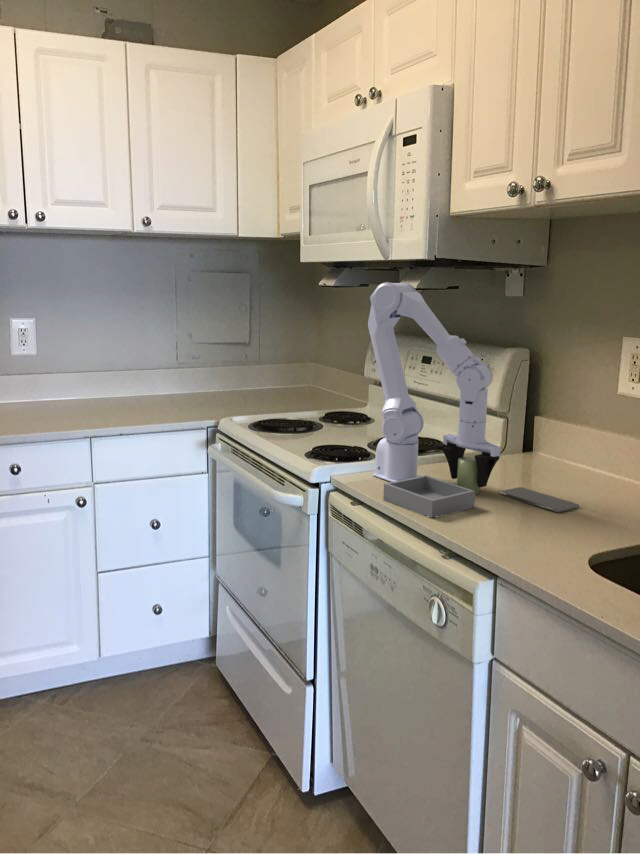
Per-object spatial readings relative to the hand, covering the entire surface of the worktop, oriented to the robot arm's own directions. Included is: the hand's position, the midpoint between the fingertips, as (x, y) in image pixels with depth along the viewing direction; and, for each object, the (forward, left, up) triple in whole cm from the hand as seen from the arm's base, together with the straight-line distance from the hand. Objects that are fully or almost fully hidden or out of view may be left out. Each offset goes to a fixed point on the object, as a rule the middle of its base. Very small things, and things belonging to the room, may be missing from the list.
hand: (468, 482), depth 159 cm
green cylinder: (0, 0, -2) cm, 2 cm away
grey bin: (+2, -14, -2) cm, 14 cm away
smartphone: (+13, +7, -2) cm, 15 cm away
